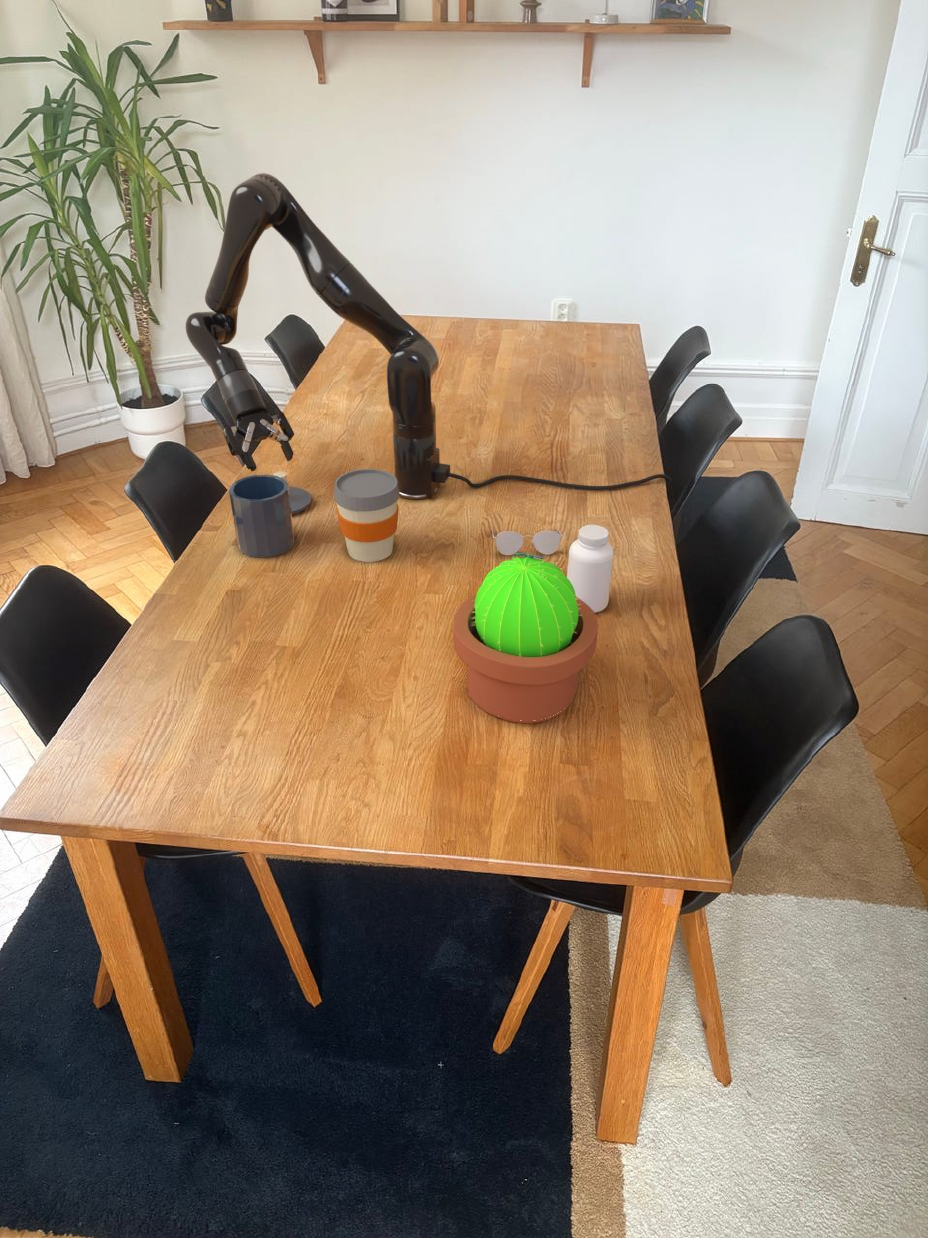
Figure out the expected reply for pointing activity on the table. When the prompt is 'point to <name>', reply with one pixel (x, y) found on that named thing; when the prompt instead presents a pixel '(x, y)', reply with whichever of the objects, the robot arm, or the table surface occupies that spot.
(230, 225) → the robot arm
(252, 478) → the blue handleless cup
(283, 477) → the lid
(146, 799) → the table surface
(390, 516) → the reusable coffee cup
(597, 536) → the pill bottle
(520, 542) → the sunglasses
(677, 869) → the table surface
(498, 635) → the potted cactus
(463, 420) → the table surface
